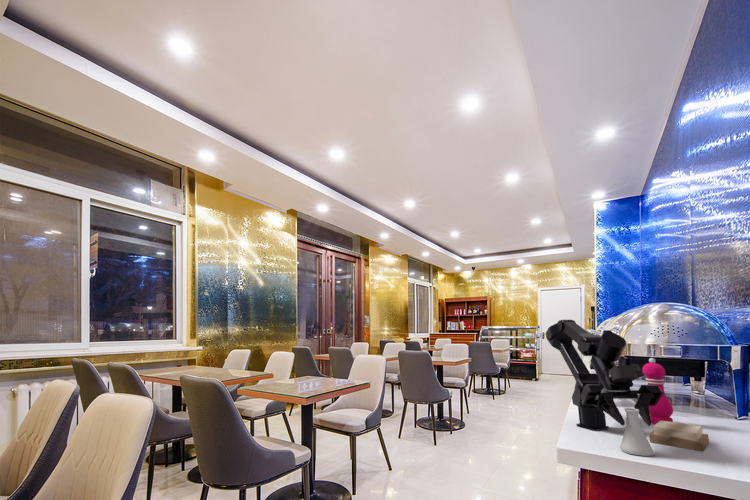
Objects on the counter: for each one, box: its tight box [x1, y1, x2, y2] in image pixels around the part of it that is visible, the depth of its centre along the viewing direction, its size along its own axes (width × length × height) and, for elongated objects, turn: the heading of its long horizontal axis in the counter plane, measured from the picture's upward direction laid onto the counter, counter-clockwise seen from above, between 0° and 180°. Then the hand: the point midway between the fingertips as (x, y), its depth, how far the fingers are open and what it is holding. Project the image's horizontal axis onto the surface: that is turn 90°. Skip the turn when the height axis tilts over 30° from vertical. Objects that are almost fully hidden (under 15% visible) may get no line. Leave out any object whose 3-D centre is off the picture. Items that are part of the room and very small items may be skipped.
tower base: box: [648, 420, 710, 453], centre depth 102 cm, size 11×11×4 cm
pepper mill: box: [642, 357, 674, 425], centre depth 123 cm, size 7×7×20 cm
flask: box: [620, 407, 656, 457], centre depth 95 cm, size 7×7×10 cm
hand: (636, 424), depth 94 cm, fingers open, 6 cm apart
